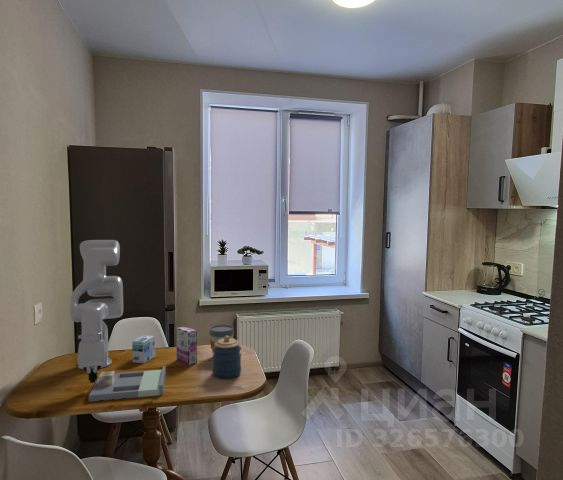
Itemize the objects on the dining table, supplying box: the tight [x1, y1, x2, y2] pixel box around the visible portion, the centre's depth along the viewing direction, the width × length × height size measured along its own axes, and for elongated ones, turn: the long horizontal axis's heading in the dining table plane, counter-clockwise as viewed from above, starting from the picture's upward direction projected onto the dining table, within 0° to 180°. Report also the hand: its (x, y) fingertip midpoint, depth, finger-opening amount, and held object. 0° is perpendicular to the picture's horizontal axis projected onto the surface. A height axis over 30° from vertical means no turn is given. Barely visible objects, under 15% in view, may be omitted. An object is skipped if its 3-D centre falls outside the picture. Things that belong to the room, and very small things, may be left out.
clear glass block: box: [98, 370, 115, 386], centre depth 159 cm, size 5×5×4 cm
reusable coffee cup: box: [209, 324, 235, 355], centre depth 197 cm, size 13×13×15 cm
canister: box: [211, 336, 242, 380], centre depth 176 cm, size 13×13×18 cm
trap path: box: [88, 365, 167, 402], centre depth 162 cm, size 27×20×4 cm
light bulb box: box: [131, 334, 156, 364], centre depth 193 cm, size 11×7×11 cm, turn 168°
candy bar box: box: [176, 326, 198, 366], centre depth 191 cm, size 11×5×16 cm, turn 47°
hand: (93, 381), depth 158 cm, fingers closed
